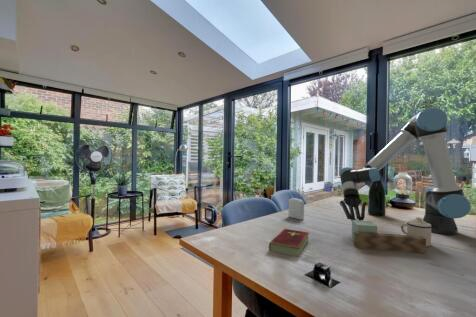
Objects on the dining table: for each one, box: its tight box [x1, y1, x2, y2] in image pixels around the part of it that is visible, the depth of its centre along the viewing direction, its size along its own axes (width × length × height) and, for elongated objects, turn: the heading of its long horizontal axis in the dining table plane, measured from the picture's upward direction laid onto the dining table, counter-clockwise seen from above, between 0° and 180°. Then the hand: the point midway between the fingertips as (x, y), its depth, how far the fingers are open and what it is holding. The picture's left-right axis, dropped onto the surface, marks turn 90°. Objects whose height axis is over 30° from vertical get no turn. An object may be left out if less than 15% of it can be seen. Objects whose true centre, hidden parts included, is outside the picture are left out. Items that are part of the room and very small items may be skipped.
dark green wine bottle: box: [367, 169, 387, 217], centre depth 158 cm, size 10×10×33 cm
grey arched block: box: [288, 197, 305, 221], centre depth 144 cm, size 10×4×12 cm, turn 39°
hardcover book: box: [268, 228, 310, 257], centre depth 99 cm, size 12×21×4 cm, turn 152°
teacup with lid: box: [400, 216, 432, 247], centre depth 105 cm, size 12×9×12 cm
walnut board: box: [353, 231, 427, 255], centre depth 96 cm, size 26×3×6 cm, turn 78°
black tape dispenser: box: [304, 262, 341, 289], centre depth 72 cm, size 12×7×5 cm, turn 38°
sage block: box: [351, 220, 378, 242], centre depth 103 cm, size 8×8×9 cm
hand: (358, 232), depth 109 cm, fingers closed
